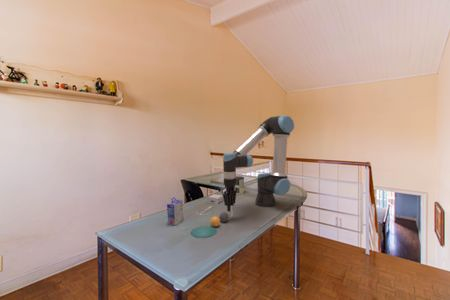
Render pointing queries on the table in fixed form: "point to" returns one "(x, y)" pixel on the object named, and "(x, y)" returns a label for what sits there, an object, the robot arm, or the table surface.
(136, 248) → the table surface
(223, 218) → the dark grey ball
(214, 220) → the object ball
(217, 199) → the charger
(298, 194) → the table surface
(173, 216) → the ink cartridge box
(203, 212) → the crossbow
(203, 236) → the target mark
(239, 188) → the coffee can
